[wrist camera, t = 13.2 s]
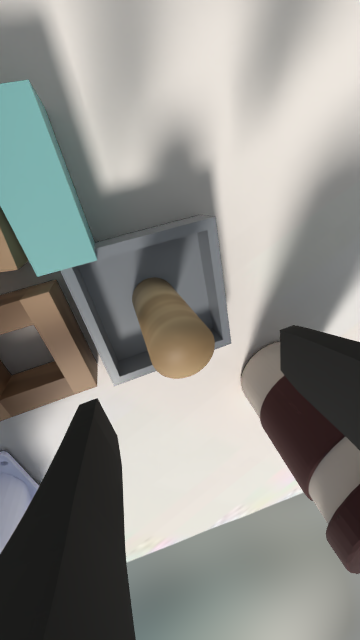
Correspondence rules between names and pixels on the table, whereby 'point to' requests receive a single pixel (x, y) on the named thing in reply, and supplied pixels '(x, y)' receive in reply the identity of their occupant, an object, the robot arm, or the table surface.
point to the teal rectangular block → (39, 185)
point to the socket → (61, 340)
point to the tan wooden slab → (10, 247)
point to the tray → (137, 265)
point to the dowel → (171, 330)
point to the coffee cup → (309, 451)
